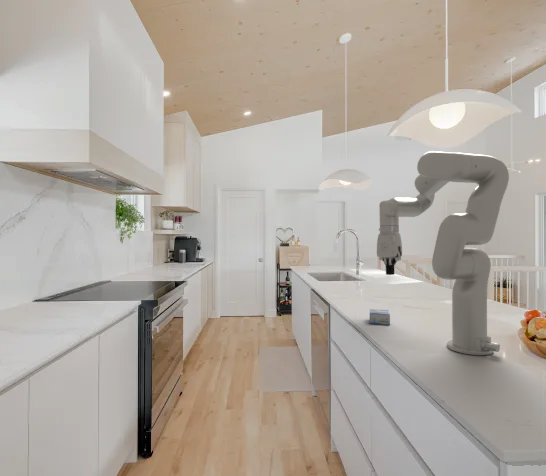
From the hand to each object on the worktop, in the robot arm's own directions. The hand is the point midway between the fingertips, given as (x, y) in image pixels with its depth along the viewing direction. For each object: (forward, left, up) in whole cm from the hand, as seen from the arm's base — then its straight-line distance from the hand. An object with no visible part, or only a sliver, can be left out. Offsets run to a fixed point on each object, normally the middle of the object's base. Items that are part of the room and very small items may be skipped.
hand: (390, 274), depth 146 cm
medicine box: (+5, +1, -18) cm, 18 cm away
